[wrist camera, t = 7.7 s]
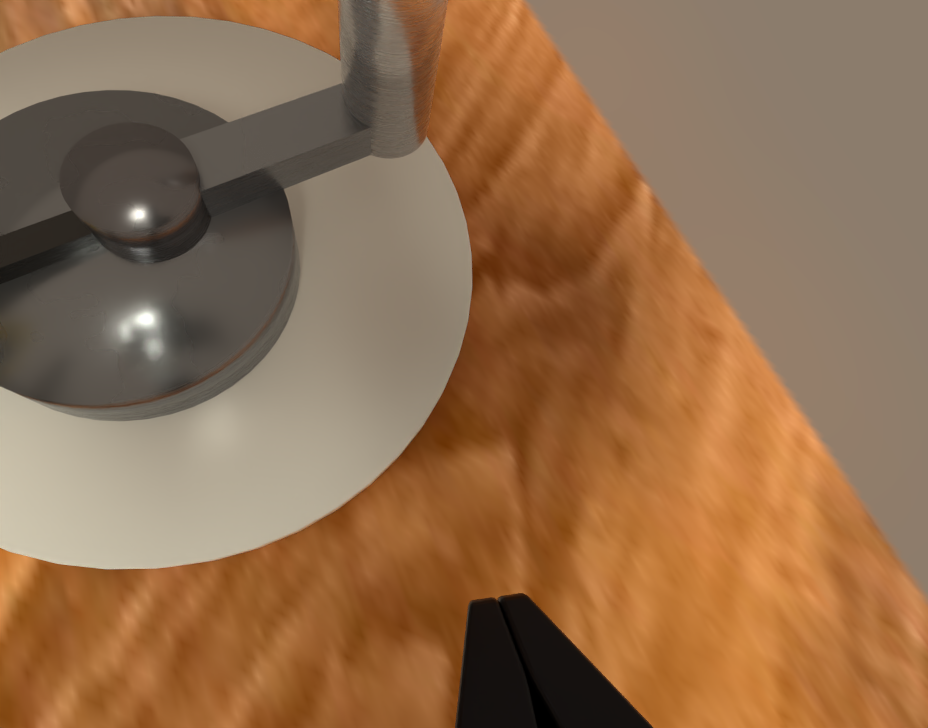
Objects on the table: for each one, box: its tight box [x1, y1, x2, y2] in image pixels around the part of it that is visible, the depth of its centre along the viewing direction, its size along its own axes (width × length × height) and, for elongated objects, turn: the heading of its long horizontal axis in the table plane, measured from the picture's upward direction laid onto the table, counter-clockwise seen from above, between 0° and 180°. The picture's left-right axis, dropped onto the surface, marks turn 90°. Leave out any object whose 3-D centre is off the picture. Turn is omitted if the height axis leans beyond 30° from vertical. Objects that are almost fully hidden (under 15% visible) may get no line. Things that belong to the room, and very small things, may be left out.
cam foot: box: [0, 0, 448, 421], centre depth 12 cm, size 13×11×12 cm
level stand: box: [0, 16, 472, 569], centre depth 17 cm, size 18×18×4 cm
